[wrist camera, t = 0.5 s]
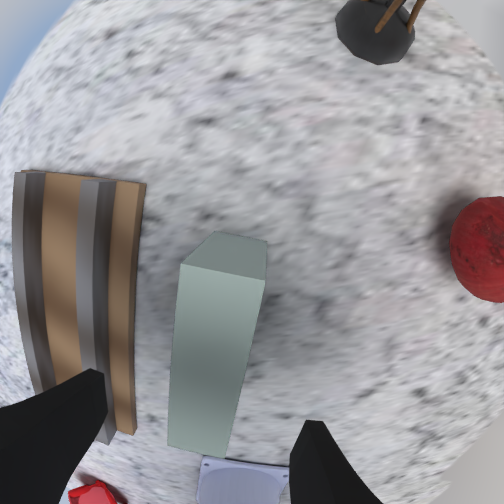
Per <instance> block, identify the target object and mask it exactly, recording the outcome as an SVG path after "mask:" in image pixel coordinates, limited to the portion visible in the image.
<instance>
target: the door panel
mask: <svg viewBox="0 0 504 504" xmlns="http://www.w3.org/2000/svg"><path fill="white" fill-rule="evenodd" d="M266 260H267V241H263V240H258V239H253V238H248V237H243V236H238V235H233V234H228V233H223V232H217V231H214V232H213V233H212V234H211V235H210V236H209V237H208V238H207V239H206V240H205V241H204V242H203V243H202V244H201V245H199V246H198V247H197V248H196V249H195V250H194V251H193V252H192V253H191V254H190V255H189V256H188V257H187V258H186V259H185V260H184V261H183V262H182V263H181V266H180V274H179V282H178V291H177V300H176V310H175V320H174V331H173V343H172V356H171V370H170V387H169V408H168V440H167V446H171V447H174V448H178V449H182V450H186V451H190V452H195V453H199V454H203V455H208V456H213V457H218V458H223V459H225V455H226V451H227V447H228V443H229V438H230V434H231V430H232V426H233V422H234V418H235V414H236V410H237V405H238V401H239V397H240V393H241V388H242V384H243V380H244V376H245V371H246V367H247V363H248V358H249V354H250V350H251V345H252V341H253V336H254V332H255V327H256V323H257V318H258V314H259V309H260V305H261V300H262V296H263V291H264V287H265V282H266Z"/></svg>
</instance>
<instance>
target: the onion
mask: <svg viewBox="0 0 504 504" xmlns="http://www.w3.org/2000/svg"><path fill="white" fill-rule="evenodd" d="M449 245H450V254H451V262H452V266H453V268H454V271H455V273H456V276H457V278H458V280H459V281H460V283H461V284H462V285H463V286H464V287H465V288H466V289H467V290H468V291H469V292H470V293H472V294H473V295H474V296H476V297H478V298H480V299H482V300H486V301H490V302H496V303H503V302H504V197H502V196H498V197H486V198H478V199H477V200H475V201H474V202H472V203H471V204H469V205H468V206H466V207H465V208H464V209H463V210H461V212H460V214H459V215H458V217H457V219H456V220H455V222H454V223H453V225H452V231H451V236H450V241H449Z"/></svg>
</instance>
